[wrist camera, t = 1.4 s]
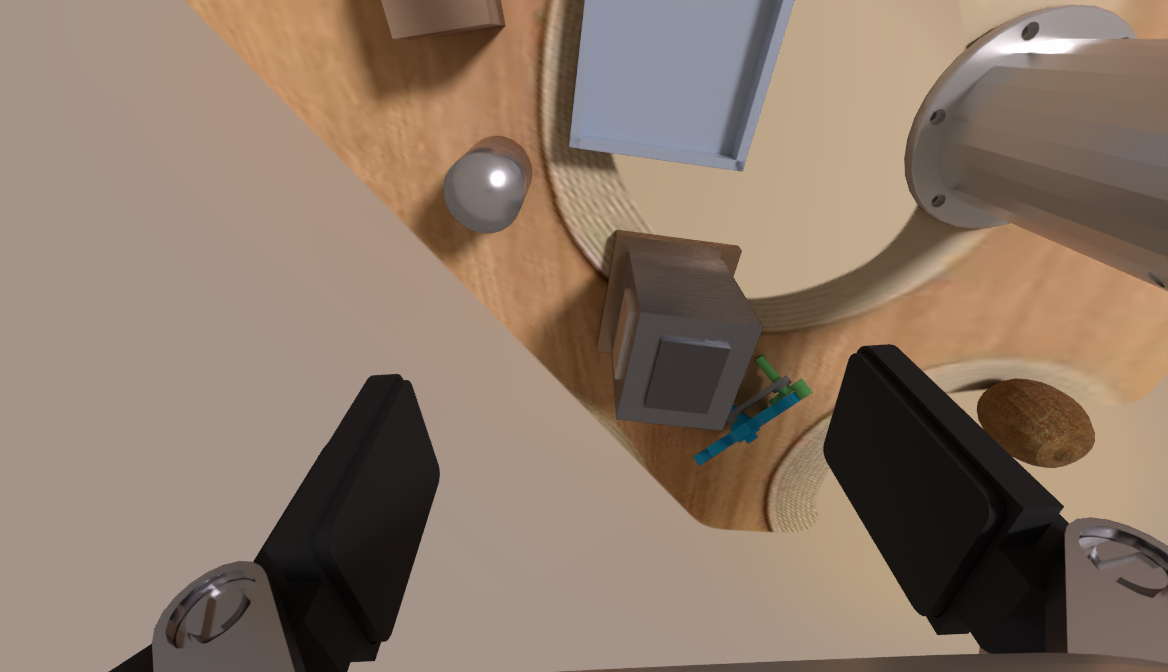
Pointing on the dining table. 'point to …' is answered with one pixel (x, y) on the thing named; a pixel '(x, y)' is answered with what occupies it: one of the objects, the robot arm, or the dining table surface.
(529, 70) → the dining table surface
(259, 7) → the dining table surface
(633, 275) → the box with rectangular openings
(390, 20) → the block
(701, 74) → the tray
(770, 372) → the blue green-pegged part
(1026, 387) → the fruit
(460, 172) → the metal cylinder
